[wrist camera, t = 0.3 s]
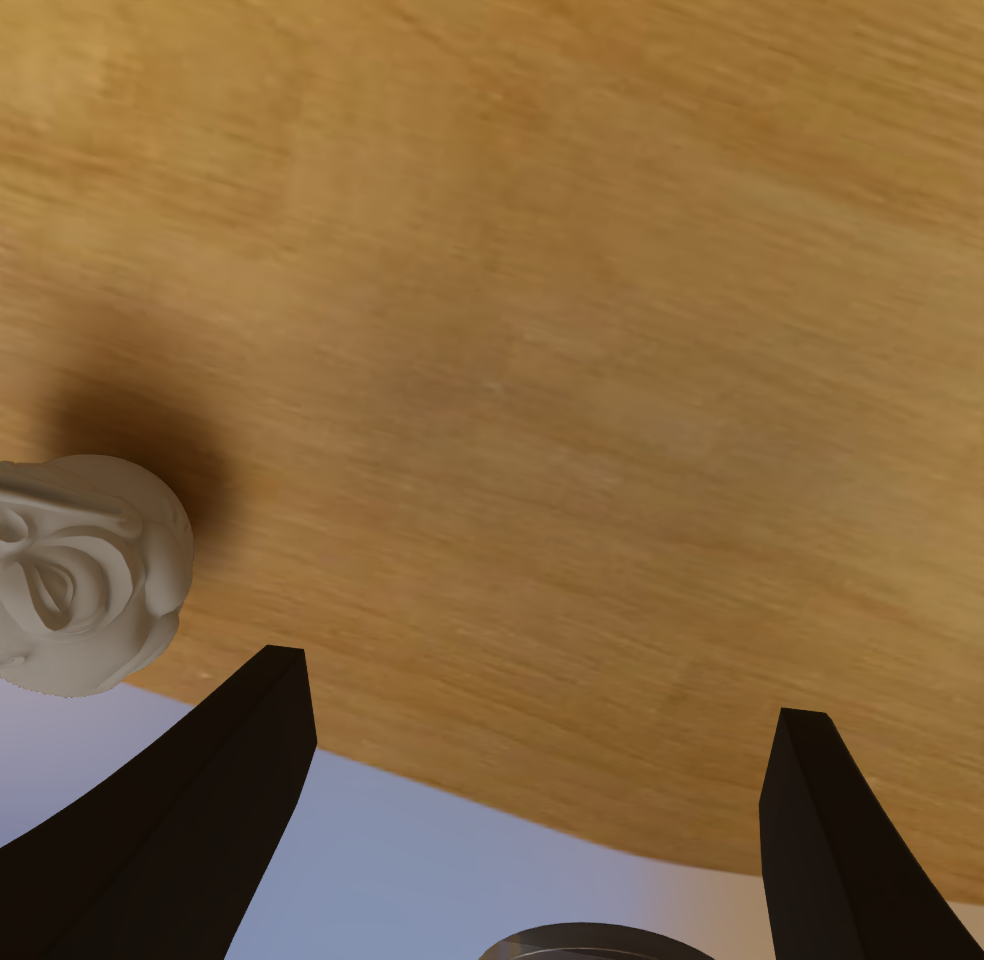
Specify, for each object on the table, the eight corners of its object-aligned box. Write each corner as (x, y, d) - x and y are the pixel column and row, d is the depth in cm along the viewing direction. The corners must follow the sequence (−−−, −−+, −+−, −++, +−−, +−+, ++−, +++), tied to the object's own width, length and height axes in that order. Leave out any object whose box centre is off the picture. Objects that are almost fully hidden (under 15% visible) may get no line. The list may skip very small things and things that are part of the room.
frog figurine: (237, 397, 22) (77, 553, 16) (250, 610, 25) (124, 803, 20) (15, 359, 22) (-219, 497, 17) (59, 573, 26) (-120, 749, 20)
